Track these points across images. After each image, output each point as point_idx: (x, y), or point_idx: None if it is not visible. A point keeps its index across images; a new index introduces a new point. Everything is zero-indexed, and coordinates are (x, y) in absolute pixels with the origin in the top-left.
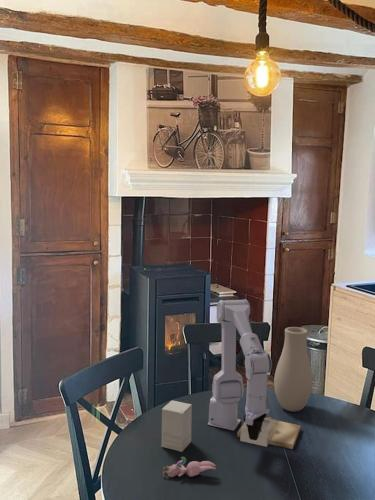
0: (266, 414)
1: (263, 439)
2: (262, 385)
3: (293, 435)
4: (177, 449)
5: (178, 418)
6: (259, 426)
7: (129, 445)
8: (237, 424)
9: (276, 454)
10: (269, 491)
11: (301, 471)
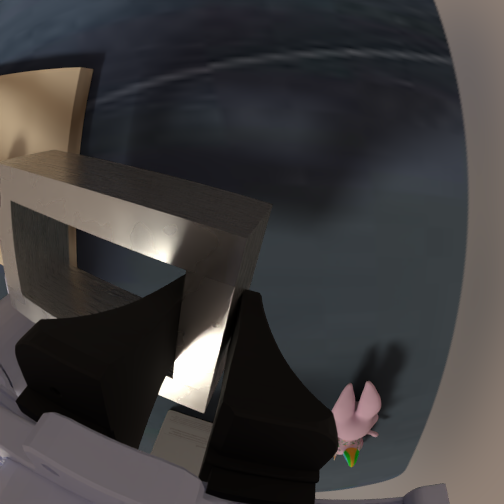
0: (61, 349)
1: (256, 247)
2: None
3: (25, 82)
4: None
5: None
6: (303, 385)
7: None
8: None
9: (144, 128)
10: (447, 174)
11: (269, 14)
